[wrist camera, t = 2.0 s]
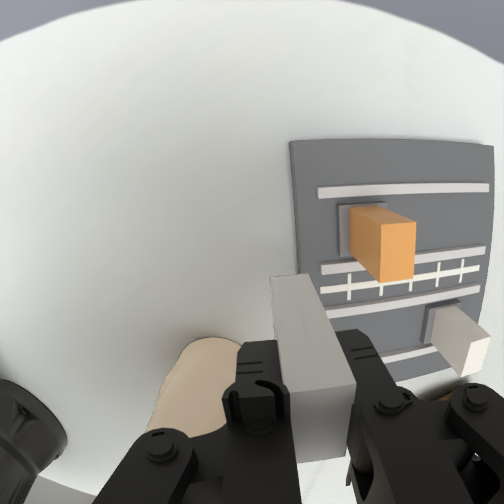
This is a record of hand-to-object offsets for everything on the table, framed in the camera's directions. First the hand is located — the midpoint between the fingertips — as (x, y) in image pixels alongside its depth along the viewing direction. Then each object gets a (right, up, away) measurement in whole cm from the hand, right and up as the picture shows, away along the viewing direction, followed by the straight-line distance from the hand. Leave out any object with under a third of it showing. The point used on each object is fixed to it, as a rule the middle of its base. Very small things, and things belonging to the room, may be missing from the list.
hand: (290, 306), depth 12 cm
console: (+13, 0, +15) cm, 19 cm away
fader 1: (+7, +4, +12) cm, 14 cm away
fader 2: (+17, -5, +14) cm, 23 cm away
